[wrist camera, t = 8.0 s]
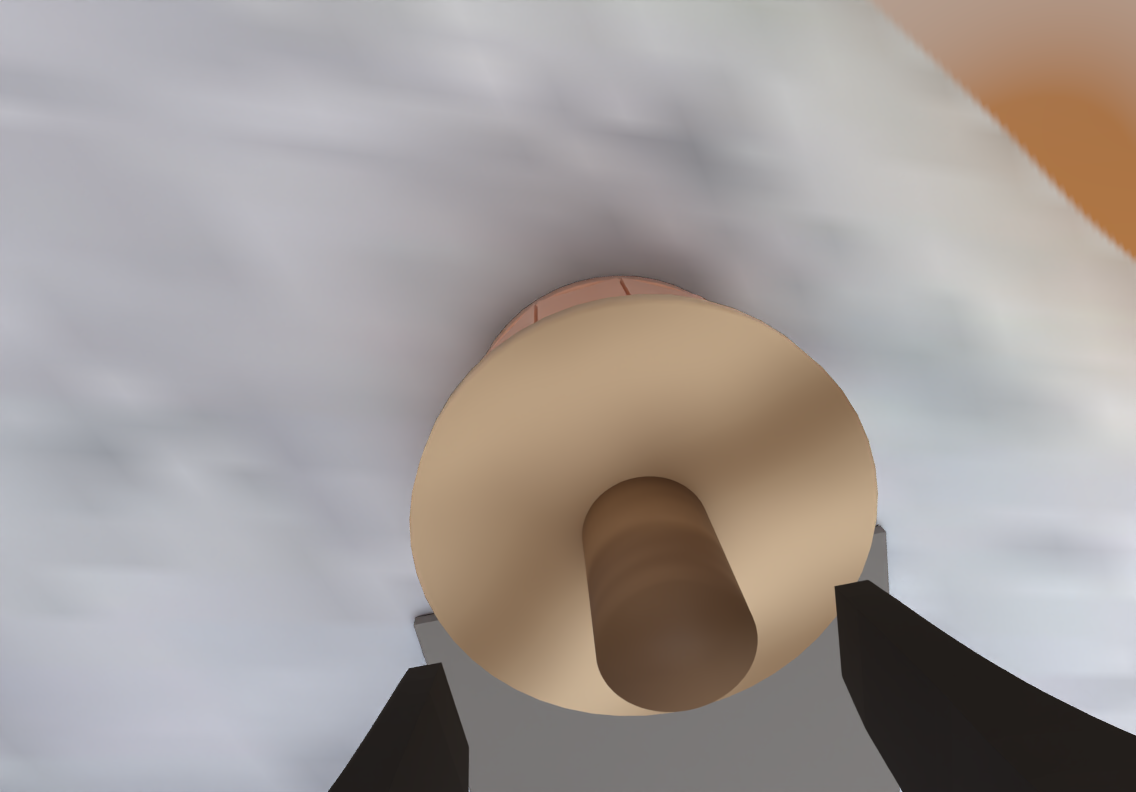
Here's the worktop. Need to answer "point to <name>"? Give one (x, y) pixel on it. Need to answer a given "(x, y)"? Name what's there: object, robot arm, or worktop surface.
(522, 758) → the mat
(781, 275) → the worktop surface
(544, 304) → the bowl
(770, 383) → the lid
